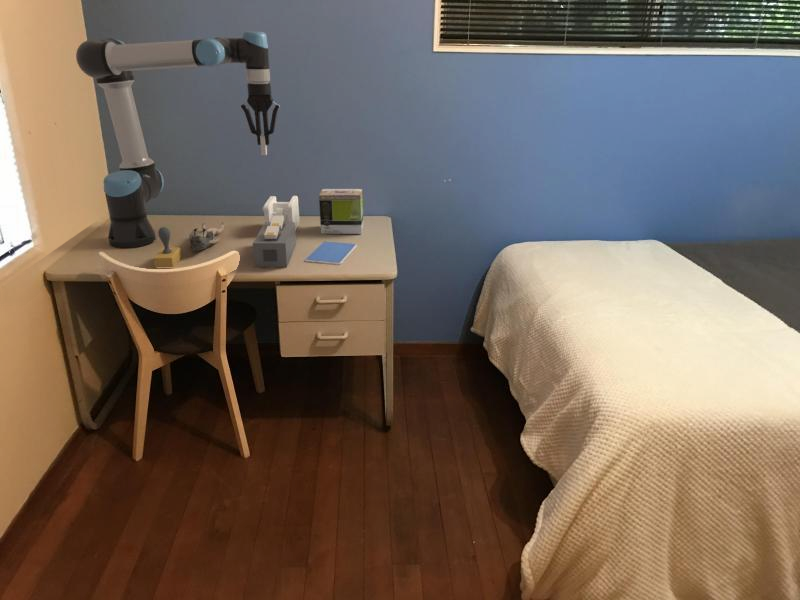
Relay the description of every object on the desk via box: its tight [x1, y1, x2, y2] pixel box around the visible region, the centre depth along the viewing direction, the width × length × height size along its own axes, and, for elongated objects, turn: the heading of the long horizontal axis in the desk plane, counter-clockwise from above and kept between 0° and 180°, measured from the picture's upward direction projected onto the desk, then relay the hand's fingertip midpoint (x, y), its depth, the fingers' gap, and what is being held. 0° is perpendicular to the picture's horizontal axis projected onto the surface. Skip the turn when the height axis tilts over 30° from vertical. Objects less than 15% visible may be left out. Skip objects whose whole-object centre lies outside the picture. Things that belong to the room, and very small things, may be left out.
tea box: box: [318, 188, 364, 235], centre depth 224 cm, size 15×10×15 cm, turn 89°
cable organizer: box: [262, 195, 300, 232], centre depth 225 cm, size 15×11×12 cm
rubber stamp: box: [153, 226, 183, 268], centre depth 193 cm, size 10×6×12 cm, turn 4°
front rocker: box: [264, 226, 279, 239], centre depth 194 cm, size 4×6×2 cm, turn 1°
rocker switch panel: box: [252, 221, 297, 268], centre depth 200 cm, size 10×22×8 cm, turn 1°
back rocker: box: [270, 216, 284, 230], centre depth 203 cm, size 4×6×2 cm, turn 1°
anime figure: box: [189, 221, 226, 252], centre depth 212 cm, size 10×7×30 cm
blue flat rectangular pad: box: [303, 240, 358, 266], centre depth 205 cm, size 19×13×1 cm, turn 167°
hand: (264, 154), depth 213 cm, fingers closed
